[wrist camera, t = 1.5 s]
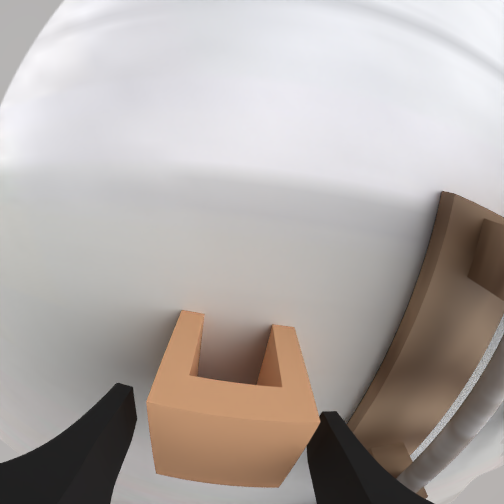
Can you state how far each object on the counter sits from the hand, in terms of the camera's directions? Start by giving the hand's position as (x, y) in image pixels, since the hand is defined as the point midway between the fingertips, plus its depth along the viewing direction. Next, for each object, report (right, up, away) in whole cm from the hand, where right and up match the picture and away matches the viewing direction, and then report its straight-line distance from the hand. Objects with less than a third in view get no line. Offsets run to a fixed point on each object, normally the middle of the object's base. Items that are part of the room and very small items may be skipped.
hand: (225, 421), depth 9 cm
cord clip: (0, +1, +4) cm, 4 cm away
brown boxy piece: (+12, -1, +4) cm, 13 cm away
